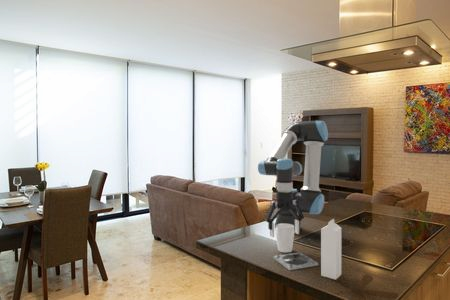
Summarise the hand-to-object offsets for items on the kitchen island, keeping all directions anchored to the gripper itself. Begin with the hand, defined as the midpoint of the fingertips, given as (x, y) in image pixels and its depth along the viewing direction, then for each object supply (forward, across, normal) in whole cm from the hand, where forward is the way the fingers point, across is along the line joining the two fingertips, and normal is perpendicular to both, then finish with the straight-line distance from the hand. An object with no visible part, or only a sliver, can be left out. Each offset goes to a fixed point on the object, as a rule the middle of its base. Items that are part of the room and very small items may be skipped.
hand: (284, 234), depth 155 cm
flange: (+8, +2, +14) cm, 16 cm away
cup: (+8, 0, 0) cm, 8 cm away
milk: (+8, -4, +31) cm, 32 cm away
